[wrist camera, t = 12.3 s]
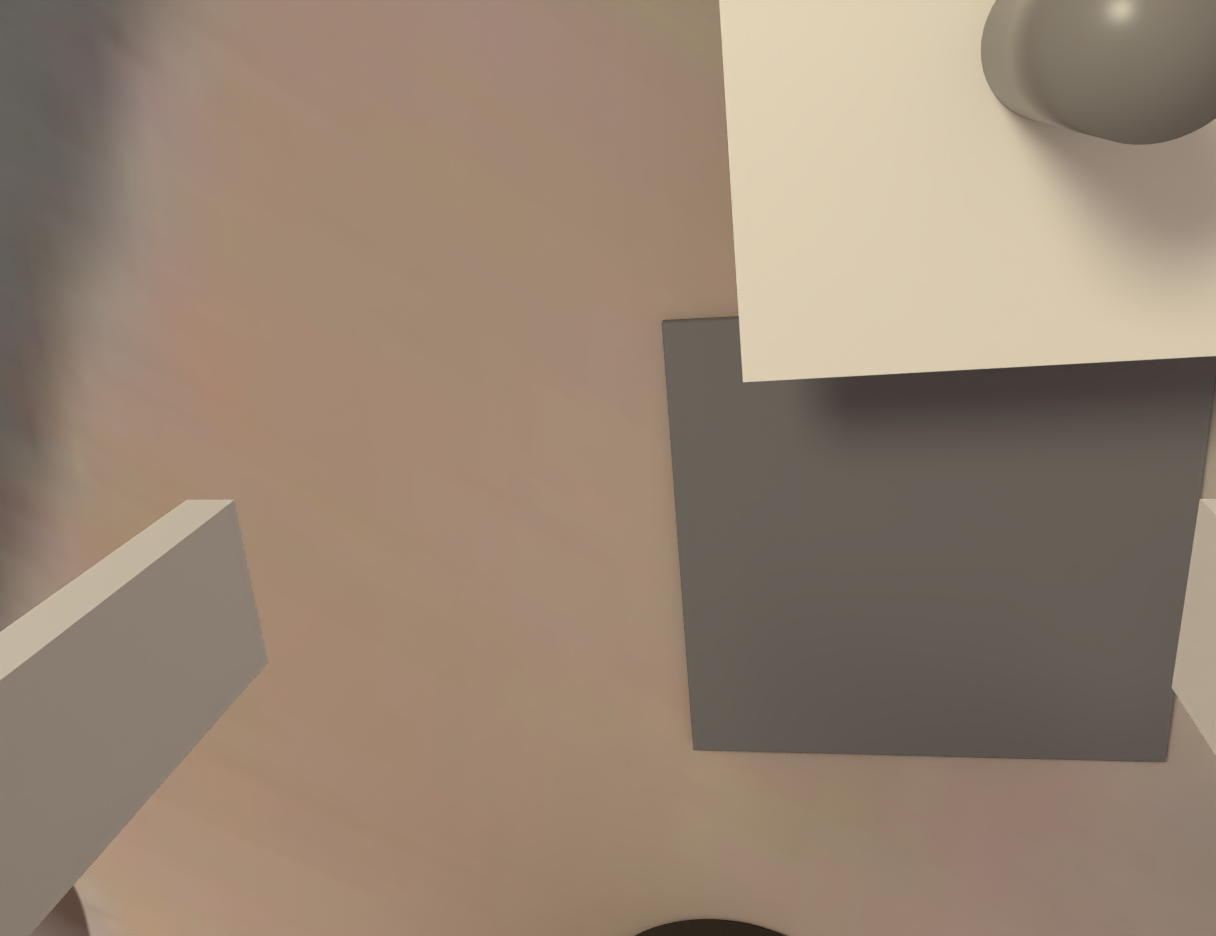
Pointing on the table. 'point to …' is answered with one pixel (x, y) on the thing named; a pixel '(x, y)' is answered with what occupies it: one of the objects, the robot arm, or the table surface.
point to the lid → (970, 183)
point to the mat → (934, 553)
